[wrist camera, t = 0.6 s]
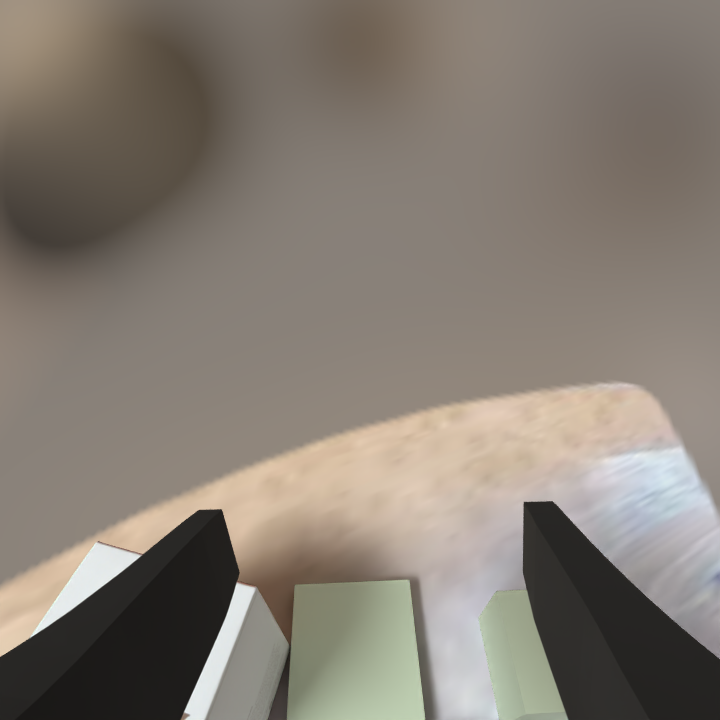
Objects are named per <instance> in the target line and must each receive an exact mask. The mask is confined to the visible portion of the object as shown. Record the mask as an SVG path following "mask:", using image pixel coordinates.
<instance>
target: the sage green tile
mask: <svg viewBox="0 0 720 720" xmlns="http://www.w3.org/2000/svg"><path fill="white" fill-rule="evenodd" d="M287 720H425V713H424V704H423V696H422V687H421V678H420V669H419V660H418V652H417V643H416V634H415V625H414V616H413V608H412V599H411V590H410V581H409V580H388V581H366V582H343V583H321V584H299V585H295V588H294V605H293V622H292V639H291V655H290V672H289V689H288V706H287Z"/></svg>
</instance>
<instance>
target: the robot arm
mask: <svg viewBox="0 0 720 720" xmlns="http://www.w3.org/2000/svg"><path fill="white" fill-rule="evenodd" d="M523 575H524V579H525V583H526V588H527V592H528V597H529V601H530V605H531V610H532V614H533V618H534V621H535V624H536V627H537V630H538V633H539V636H540V639H541V642H542V645H543V648H544V651H545V654H546V657H547V660H548V663H549V666H550V669H551V672H552V674H553V677H554V680H555V683H556V686H557V689H558V692H559V695H560V698H561V701H562V703H563V706H564V709H565V712H566V715H567V718H568V720H720V659H719V658H718V657H716V656H715V655H714V654H713V653H711V652H710V651H709V650H708V649H706V648H705V647H704V646H703V645H701V644H700V643H699V642H698V641H697V640H695V639H694V638H693V637H692V636H691V635H689V634H688V633H687V632H686V631H685V630H684V629H682V628H681V627H680V626H679V625H678V624H677V623H675V622H674V621H673V620H672V619H671V618H670V617H669V616H667V615H666V614H665V613H664V612H663V611H662V610H661V609H660V608H659V607H657V606H656V605H655V604H654V603H653V602H652V601H651V600H650V599H648V598H647V597H646V596H645V595H644V594H643V593H642V592H641V591H640V590H639V589H638V588H637V587H636V586H635V585H633V584H632V583H631V582H630V581H629V580H628V579H627V578H626V577H625V576H624V575H623V574H622V573H621V572H620V571H619V570H618V569H617V568H616V567H615V566H614V565H613V564H612V563H611V562H610V561H609V560H608V559H607V558H606V557H605V556H604V555H603V554H602V553H601V552H600V551H599V550H598V549H597V548H596V547H595V546H594V545H593V544H592V543H591V542H590V541H589V540H588V538H587V537H586V536H585V535H584V534H583V533H582V532H581V531H580V530H579V529H578V528H577V527H576V526H575V525H574V524H573V522H572V521H571V520H570V519H569V518H568V517H567V516H566V515H565V514H564V513H563V511H562V510H561V509H560V508H559V507H558V506H557V505H556V504H555V503H554V502H553V501H547V502H524V526H523ZM238 577H239V569H238V565H237V562H236V558H235V555H234V551H233V547H232V544H231V540H230V537H229V533H228V529H227V526H226V522H225V519H224V515H223V511H222V509H217V510H198V511H197V512H196V513H194V514H193V515H192V516H190V517H189V518H188V519H186V520H185V521H184V522H182V523H181V524H180V525H179V526H177V527H176V528H175V529H174V530H172V531H171V532H170V533H169V534H168V535H166V536H165V537H164V538H163V539H161V540H160V541H159V542H158V543H157V544H155V545H154V546H153V547H152V548H150V549H149V550H148V551H147V552H145V553H144V554H143V555H142V556H140V557H139V558H138V559H137V560H136V561H134V562H133V563H132V564H131V565H129V566H128V567H127V568H126V569H124V570H123V571H122V572H121V573H119V574H118V575H117V576H115V577H114V578H113V579H111V580H110V581H109V582H107V583H106V584H105V585H103V586H102V587H101V588H100V589H98V590H97V591H96V592H94V593H93V594H92V595H90V596H89V597H88V598H86V599H85V600H84V601H82V602H81V603H80V604H78V605H77V606H76V607H74V608H73V609H72V610H70V611H69V612H67V613H66V614H65V615H63V616H62V617H60V618H59V619H57V620H56V621H55V622H53V623H52V624H50V625H49V626H47V627H46V628H44V629H43V630H41V631H40V632H38V633H37V634H35V635H34V636H32V637H31V638H29V639H28V640H26V641H25V642H23V643H22V644H20V645H19V646H17V647H15V648H14V649H12V650H11V651H9V652H8V653H6V654H4V655H3V656H1V657H0V720H181V718H182V716H183V713H184V711H185V709H186V707H187V704H188V702H189V700H190V698H191V695H192V693H193V691H194V689H195V686H196V684H197V682H198V680H199V677H200V675H201V673H202V671H203V668H204V666H205V664H206V662H207V659H208V657H209V655H210V653H211V650H212V648H213V646H214V644H215V641H216V639H217V637H218V634H219V632H220V630H221V628H222V625H223V623H224V620H225V618H226V616H227V613H228V610H229V606H230V603H231V600H232V597H233V594H234V590H235V587H236V583H237V580H238Z"/></svg>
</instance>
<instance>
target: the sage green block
mask: <svg viewBox="0 0 720 720" xmlns="http://www.w3.org/2000/svg"><path fill="white" fill-rule="evenodd" d="M478 619H479V624H480V629H481V633H482V638H483V643H484V648H485V653H486V658H487V663H488V667H489V672H490V677H491V682H492V687H493V692H494V696H495V701H496V706H497V711H498V716H499V720H568V718H567V715H566V712H565V709H564V706H563V703H562V701H561V698H560V695H559V692H558V689H557V686H556V683H555V680H554V677H553V674H552V672H551V669H550V666H549V663H548V660H547V657H546V654H545V651H544V648H543V645H542V642H541V639H540V636H539V633H538V630H537V627H536V624H535V621H534V618H533V614H532V610H531V605H530V601H529V597H528V592H527V590H510V591H496V592H495V594H494V595H493V597H492V598H491V600H490V601H489V603H488V604H487V606H486V607H485V609H484V610H483V612H482V613H481V615H480V616H479V618H478Z"/></svg>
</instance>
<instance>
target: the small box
mask: <svg viewBox="0 0 720 720" xmlns="http://www.w3.org/2000/svg"><path fill="white" fill-rule="evenodd" d="M142 555H143V554H140V553H137V552H133V551H130V550H126V549H123V548H119V547H115V546H112V545H108V544H105V543H102V542H99V541H98V542H96V543H95V544H94V546H93V547H92V549H91V550H90V552H89V553H88V554H87V556H86V557H85V558H84V560H83V561H82V563H81V564H80V565H79V567H78V568H77V570H76V571H75V573H74V574H73V576H72V577H71V579H70V580H69V581H68V583H67V584H66V586H65V587H64V589H63V590H62V592H61V593H60V594H59V596H58V597H57V599H56V600H55V602H54V603H53V605H52V606H51V607H50V609H49V610H48V612H47V613H46V615H45V616H44V618H43V619H42V621H41V622H40V623H39V625H38V626H37V628H36V629H35V631H34V632H33V634H32V635H31V637H32V636H34V635H35V634H37V633H38V632H40V631H41V630H43V629H44V628H46V627H47V626H49V625H50V624H52V623H53V622H55V621H56V620H57V619H59V618H60V617H62V616H63V615H65V614H66V613H67V612H69V611H70V610H72V609H73V608H74V607H76V606H77V605H78V604H80V603H81V602H82V601H84V600H85V599H86V598H88V597H89V596H90V595H92V594H93V593H94V592H96V591H97V590H98V589H100V588H101V587H102V586H103V585H105V584H106V583H107V582H109V581H110V580H111V579H113V578H114V577H115V576H117V575H118V574H119V573H121V572H122V571H123V570H124V569H126V568H127V567H128V566H129V565H131V564H132V563H133V562H134V561H136V560H137V559H138V558H139V557H140V556H142ZM31 637H30V638H31ZM289 651H290V646H289V644H288V642H287V640H286V638H285V637H284V635H283V633H282V631H281V629H280V628H279V626H278V624H277V622H276V620H275V619H274V617H273V615H272V613H271V611H270V609H269V608H268V606H267V604H266V602H265V601H264V599H263V597H262V595H261V593H260V592H259V590H258V588H257V587H256V586H253V585H249V584H246V583H242V582H239V581H237V583H236V587H235V590H234V594H233V597H232V600H231V603H230V606H229V610H228V613H227V616H226V618H225V620H224V623H223V625H222V628H221V630H220V632H219V634H218V637H217V639H216V641H215V644H214V646H213V648H212V650H211V653H210V655H209V657H208V659H207V662H206V664H205V666H204V668H203V671H202V673H201V675H200V677H199V680H198V682H197V684H196V686H195V689H194V691H193V693H192V695H191V698H190V700H189V702H188V704H187V707H186V709H185V711H184V713H183V716H182V718H181V720H268V716H269V713H270V710H271V707H272V704H273V701H274V698H275V695H276V692H277V688H278V685H279V682H280V679H281V676H282V673H283V669H284V666H285V663H286V660H287V657H288V654H289Z"/></svg>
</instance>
